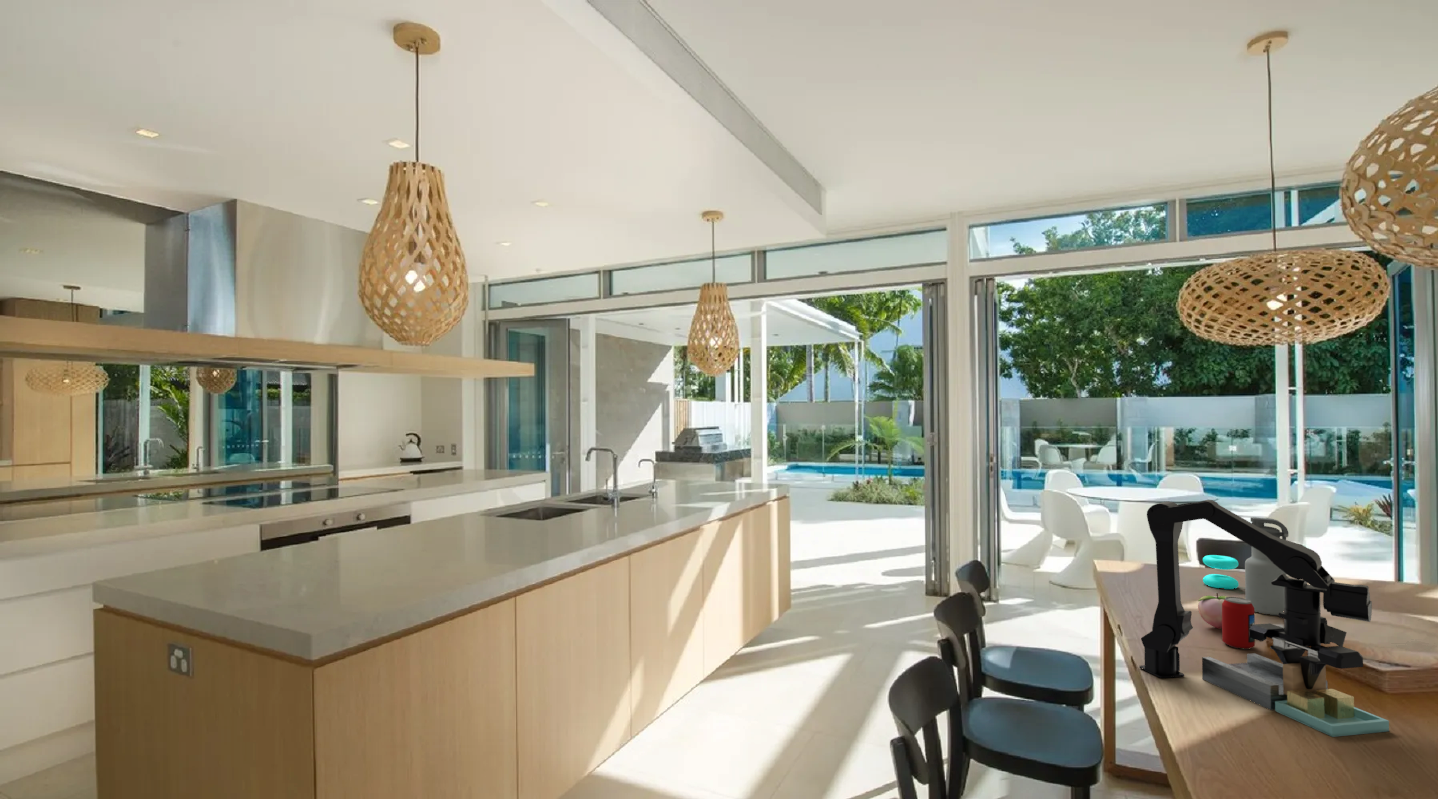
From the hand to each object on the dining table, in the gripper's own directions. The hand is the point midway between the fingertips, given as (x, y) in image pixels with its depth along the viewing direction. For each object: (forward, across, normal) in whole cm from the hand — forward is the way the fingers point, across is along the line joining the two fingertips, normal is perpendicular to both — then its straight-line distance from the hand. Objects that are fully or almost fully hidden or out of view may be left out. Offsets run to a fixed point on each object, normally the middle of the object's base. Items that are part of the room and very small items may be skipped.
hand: (1303, 686), depth 139 cm
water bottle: (+5, +58, -57) cm, 81 cm away
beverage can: (+5, +34, -21) cm, 40 cm away
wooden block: (+2, 0, 0) cm, 2 cm away
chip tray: (+5, -5, 0) cm, 7 cm away
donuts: (+5, +85, -69) cm, 109 cm away
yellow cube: (+2, -2, -3) cm, 4 cm away
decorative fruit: (+5, +47, -28) cm, 55 cm away
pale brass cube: (+2, -1, +3) cm, 4 cm away
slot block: (+5, +9, 0) cm, 10 cm away
